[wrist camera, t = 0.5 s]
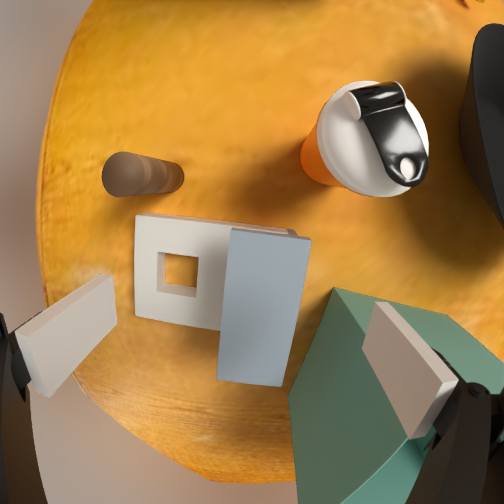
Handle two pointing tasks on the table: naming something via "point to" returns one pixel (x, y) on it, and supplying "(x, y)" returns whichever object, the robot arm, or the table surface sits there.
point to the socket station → (226, 288)
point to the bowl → (485, 117)
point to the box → (367, 405)
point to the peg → (140, 175)
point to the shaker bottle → (368, 141)
